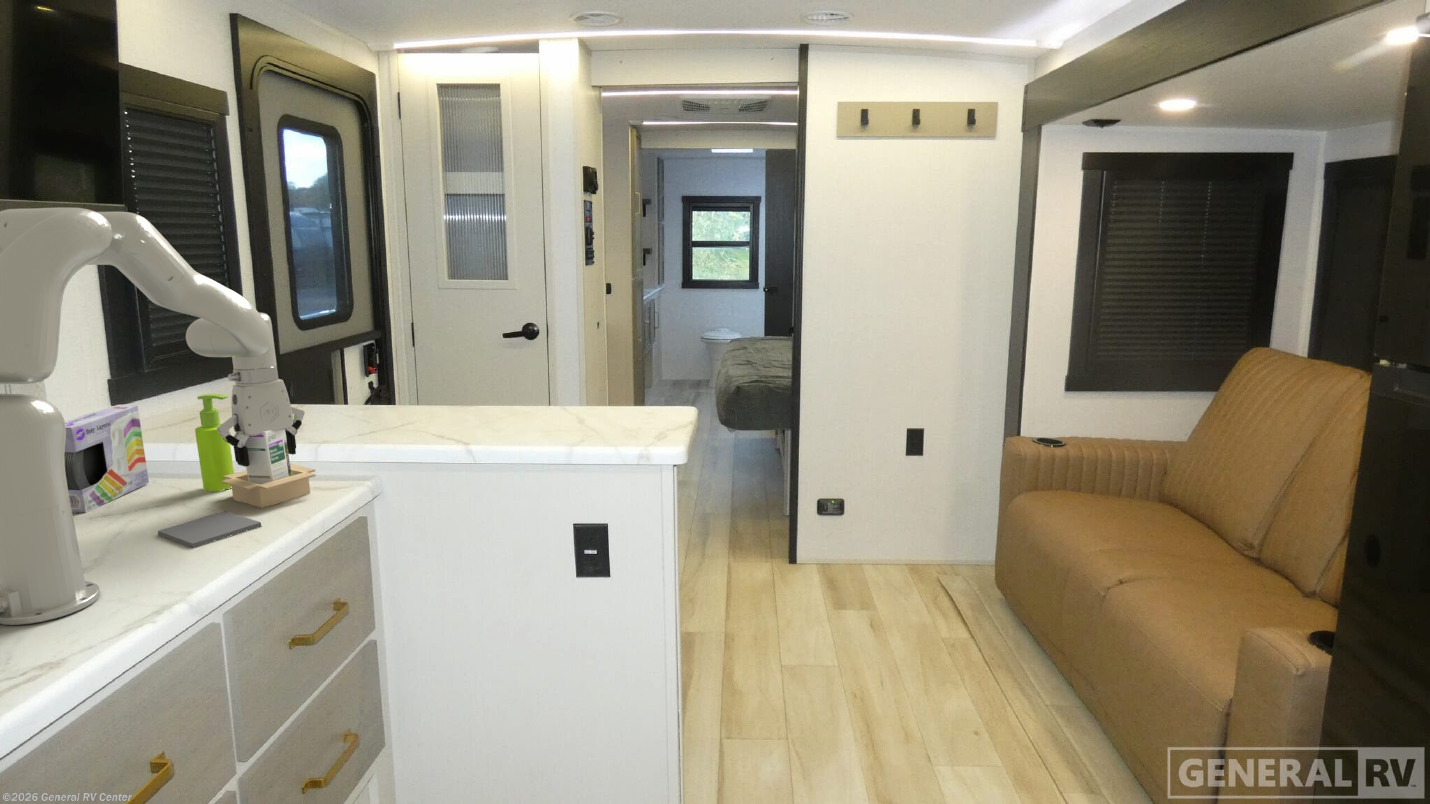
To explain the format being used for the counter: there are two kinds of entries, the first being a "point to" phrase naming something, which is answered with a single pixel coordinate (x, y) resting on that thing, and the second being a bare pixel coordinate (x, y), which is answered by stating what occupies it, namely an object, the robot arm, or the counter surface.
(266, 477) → the syrup box
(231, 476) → the carton
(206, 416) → the soap dispenser
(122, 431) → the cake pan box
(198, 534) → the mat
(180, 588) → the counter surface
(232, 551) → the counter surface
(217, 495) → the counter surface
